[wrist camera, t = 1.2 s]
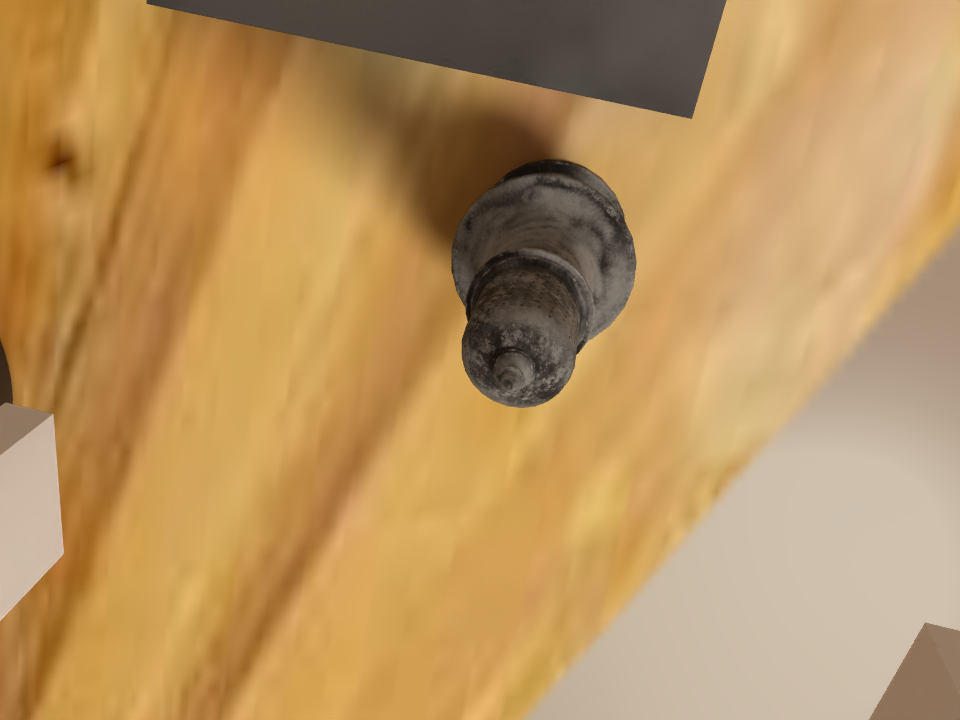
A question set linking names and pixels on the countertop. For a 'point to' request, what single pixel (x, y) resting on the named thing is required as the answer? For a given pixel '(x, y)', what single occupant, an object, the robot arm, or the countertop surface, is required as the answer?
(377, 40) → the plate
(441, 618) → the countertop surface
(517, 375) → the salt shaker
